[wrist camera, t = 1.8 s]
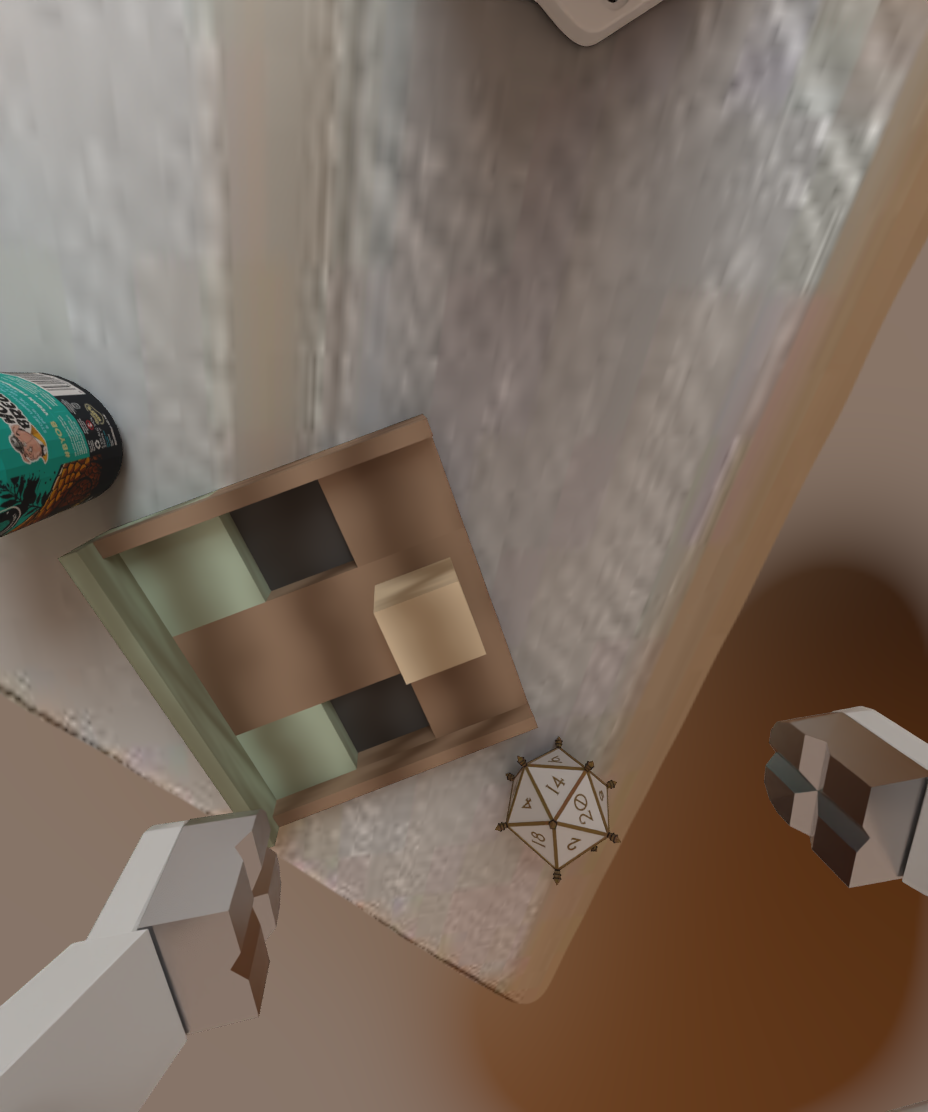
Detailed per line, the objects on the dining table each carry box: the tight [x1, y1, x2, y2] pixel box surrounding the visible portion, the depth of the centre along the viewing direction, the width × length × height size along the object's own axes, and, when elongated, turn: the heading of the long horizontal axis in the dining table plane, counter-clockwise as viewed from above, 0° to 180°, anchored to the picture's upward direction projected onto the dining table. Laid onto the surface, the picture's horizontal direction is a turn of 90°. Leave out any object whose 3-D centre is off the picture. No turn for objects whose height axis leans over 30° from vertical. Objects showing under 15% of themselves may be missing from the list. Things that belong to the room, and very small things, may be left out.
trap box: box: [58, 414, 538, 848], centre depth 32 cm, size 20×22×5 cm
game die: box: [495, 737, 621, 885], centre depth 38 cm, size 9×8×10 cm
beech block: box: [373, 557, 486, 685], centre depth 31 cm, size 5×5×4 cm
